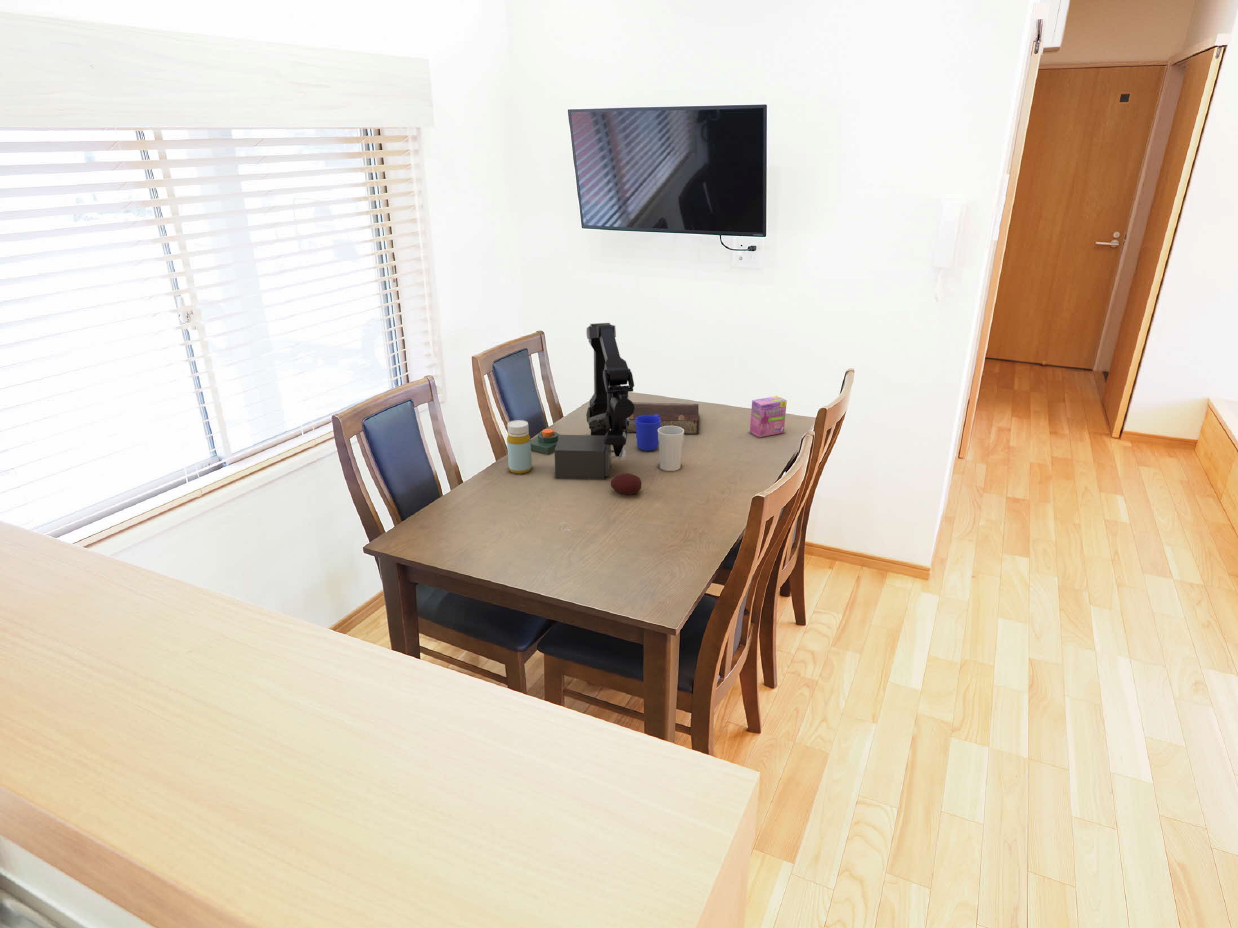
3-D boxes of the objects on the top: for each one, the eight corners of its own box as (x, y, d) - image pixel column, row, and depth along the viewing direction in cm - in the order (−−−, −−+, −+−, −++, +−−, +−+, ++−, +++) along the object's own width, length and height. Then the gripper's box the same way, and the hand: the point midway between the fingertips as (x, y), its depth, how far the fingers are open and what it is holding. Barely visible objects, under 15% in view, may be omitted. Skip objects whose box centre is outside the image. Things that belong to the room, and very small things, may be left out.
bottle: (528, 475, 236) (525, 428, 230) (505, 473, 237) (502, 427, 231) (534, 466, 242) (532, 420, 236) (513, 464, 243) (510, 419, 237)
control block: (549, 437, 264) (548, 426, 263) (570, 442, 260) (570, 431, 258) (526, 448, 255) (525, 437, 254) (547, 454, 251) (547, 443, 249)
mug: (668, 441, 260) (669, 413, 256) (654, 454, 250) (655, 425, 246) (645, 438, 263) (646, 410, 260) (631, 450, 253) (631, 421, 249)
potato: (634, 501, 219) (634, 481, 217) (606, 495, 223) (606, 475, 221) (646, 490, 226) (646, 471, 223) (618, 485, 229) (618, 466, 227)
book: (697, 415, 283) (698, 402, 281) (698, 434, 266) (698, 420, 264) (617, 413, 286) (617, 400, 284) (613, 432, 268) (613, 418, 266)
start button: (547, 432, 258) (547, 427, 258) (555, 435, 256) (555, 430, 256) (540, 436, 256) (540, 431, 255) (548, 438, 254) (548, 433, 253)
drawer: (626, 461, 243) (626, 439, 240) (624, 476, 233) (624, 453, 230) (568, 460, 244) (567, 438, 241) (563, 475, 234) (562, 452, 231)
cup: (675, 474, 236) (676, 437, 231) (652, 468, 240) (652, 431, 235) (687, 465, 242) (688, 428, 238) (664, 459, 246) (665, 423, 242)
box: (758, 438, 263) (761, 404, 258) (749, 432, 268) (751, 399, 263) (784, 433, 267) (787, 400, 262) (774, 427, 272) (777, 395, 267)
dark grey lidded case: (607, 462, 244) (607, 435, 241) (604, 479, 233) (604, 451, 229) (561, 461, 245) (560, 434, 242) (555, 478, 234) (554, 450, 230)
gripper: (592, 396, 239) (593, 443, 246) (586, 417, 222) (587, 467, 228) (629, 397, 239) (629, 444, 245) (625, 418, 221) (625, 468, 228)
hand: (617, 456), depth 236 cm, fingers closed
